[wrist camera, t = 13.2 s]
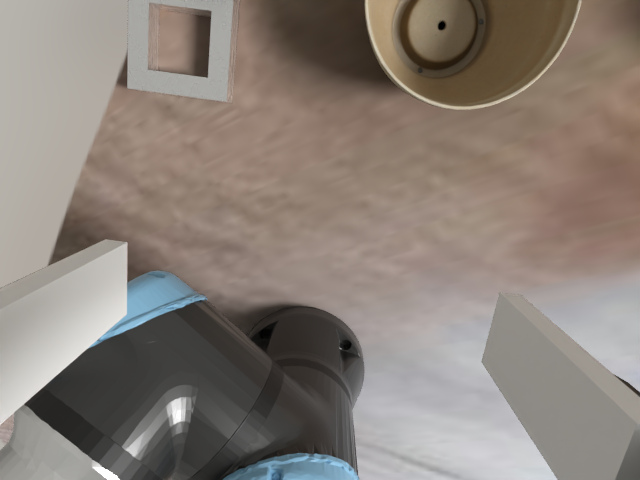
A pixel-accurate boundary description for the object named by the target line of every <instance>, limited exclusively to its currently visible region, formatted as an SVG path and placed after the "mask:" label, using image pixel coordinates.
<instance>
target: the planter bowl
mask: <svg viewBox="0 0 640 480" xmlns="http://www.w3.org/2000/svg"><path fill="white" fill-rule="evenodd" d="M580 5H581V0H364V7H365V20H366V27H367V31H368V35H369V39H370V43H371V46H372V49H373V52H374V54H375V56H376V58H377V61H378V63H379V64H380V66H381V68H382V69H383V71H384V72H385V73H386V75H387V76H388V77H389V78H390V80H391V81H392V82H393V83H394V84H395V85H397V86H398V87H399V88H400V89H401V90H402V91H404V92H405V93H407V94H408V95H410V96H412V97H414V98H416V99H417V100H420V101H422V102H425V103H427V104H430V105H433V106H436V107H440V108H445V109H452V110H469V109H478V108H483V107H487V106H491V105H494V104H497V103H500V102H502V101H505V100H507V99H509V98H511V97H513V96H515V95H516V94H518V93H520V92H521V91H523V90H524V89H526V88H527V87H529V86H530V85H531V84H532V83H534V82H535V81H536V80H537V79H538V78H539V77H540V76H541V75H542V74H543V73H544V72H545V71H546V70H547V69H548V68H549V67H550V65H551V64H552V63H553V62H554V61H555V59H556V58H557V56H558V55H559V54H560V52H561V50H562V49H563V47H564V46H565V44H566V42H567V40H568V38H569V36H570V34H571V32H572V29H573V27H574V24H575V22H576V19H577V16H578V12H579V9H580ZM441 21H443V22H444V23H445V28H444V29H443V30H439V29H438V24H439V23H440V22H441Z"/></svg>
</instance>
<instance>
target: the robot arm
mask: <svg viewBox="0 0 640 480" xmlns="http://www.w3.org/2000/svg"><path fill="white" fill-rule="evenodd" d="M482 363H483V365H484V366H485V368H486V370H487V371H488V373H489V374H490V376H491V377H492V379H493V380H494V382H495V383H496V385H497V387H498V388H499V390H500V391H501V393H502V394H503V396H504V397H505V399H506V400H507V402H508V404H509V405H510V407H511V408H512V410H513V411H514V413H515V414H516V416H517V417H518V419H519V421H520V422H521V424H522V425H523V427H524V428H525V430H526V431H527V433H528V434H529V436H530V438H531V439H532V441H533V442H534V444H535V445H536V447H537V448H538V450H539V451H540V453H541V455H542V456H543V458H544V459H545V461H546V462H547V464H548V465H549V467H550V468H551V470H552V471H553V473H554V475H555V476H556V478H557V479H558V480H640V392H638V391H637V390H636V389H635V388H634V387H633V386H631V385H630V384H629V383H628V382H626V381H624V380H622V379H621V378H619V377H617V376H616V375H614V374H612V373H611V372H610V371H609V370H608V369H606V368H605V367H604V366H603V365H602V364H601V363H599V362H598V361H597V360H596V359H595V358H594V357H593V356H591V355H590V354H589V353H588V352H587V351H586V350H584V349H583V348H582V347H581V346H580V345H579V344H577V343H576V342H575V341H574V340H573V339H572V338H570V337H569V336H568V335H567V334H566V333H565V332H563V331H562V330H561V329H560V328H559V327H558V326H557V325H555V324H554V323H553V322H552V321H551V320H550V319H548V318H547V317H546V316H545V315H544V314H543V313H541V312H540V311H539V310H538V309H537V308H536V307H534V306H533V305H532V304H531V303H530V302H529V301H527V300H526V299H525V298H524V297H523V296H522V295H516V294H508V293H501V292H500V293H499V297H498V301H497V305H496V309H495V312H494V316H493V320H492V324H491V328H490V331H489V335H488V339H487V343H486V347H485V351H484V354H483V358H482ZM363 380H364V362H363V354H362V350H361V347H360V344H359V342H358V340H357V338H356V336H355V335H354V333H353V332H352V331H351V329H350V328H349V327H348V326H347V325H346V324H345V323H344V322H342V321H341V320H340V319H338V318H337V317H335V316H334V315H332V314H330V313H327V312H325V311H322V310H319V309H315V308H309V307H293V308H287V309H283V310H280V311H277V312H274V313H272V314H270V315H268V316H267V317H265V318H264V319H262V320H261V321H260V322H259V323H258V324H257V325H256V326H255V327H254V328H253V329H252V331H251V332H250V333H249V335H248V337H247V336H246V335H245V334H244V333H243V332H242V331H240V330H239V329H238V328H237V327H236V326H235V325H234V324H232V323H231V322H230V321H229V320H228V319H227V318H226V317H224V316H223V315H222V314H221V313H220V312H219V311H218V310H217V309H216V308H215V307H213V306H212V305H211V304H210V303H209V302H208V301H207V298H206V297H205V296H204V295H201V294H198V293H197V292H196V291H195V290H193V289H192V288H191V287H189V286H188V285H187V284H186V283H184V282H183V281H182V280H180V279H179V278H178V277H177V276H175V275H174V274H172V273H170V272H167V271H159V270H158V271H151V272H148V273H145V274H143V275H141V276H138V277H136V278H134V279H133V280H131V281H129V282H127V242H122V241H114V240H107V239H105V240H103V241H101V242H99V243H97V244H95V245H92V246H90V247H88V248H86V249H84V250H82V251H79V252H77V253H75V254H73V255H71V256H69V257H66V258H64V259H62V260H60V261H58V262H56V263H54V264H51V265H49V266H47V267H45V268H43V269H41V270H38V271H36V272H34V273H32V274H30V275H28V276H25V277H23V278H21V279H19V280H17V281H15V282H13V283H10V284H8V285H6V286H4V287H2V288H0V424H2V423H3V422H4V421H5V420H6V419H7V418H8V417H10V416H11V415H12V414H13V413H14V412H15V413H14V427H13V433H12V435H11V438H10V440H9V442H8V443H7V444H6V445H5V446H4V447H3V448H2V449H1V450H0V480H359V477H358V470H357V459H356V447H355V436H354V425H353V414H352V409H353V407H354V405H355V402H356V400H357V398H358V396H359V394H360V391H361V388H362V385H363Z"/></svg>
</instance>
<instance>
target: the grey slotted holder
mask: <svg viewBox="0 0 640 480" xmlns="http://www.w3.org/2000/svg"><path fill="white" fill-rule="evenodd" d="M239 6H240V0H128V76H127V88H128V89H133V90H137V91H144V92H151V93H159V94H166V95H174V96H181V97H188V98H196V99H203V100H210V101H218V102H225V103H233V90H234V76H235V62H236V48H237V34H238V20H239ZM160 10H163V11H170V12H177V13H185V14H192V15H200V16H207V17H211V30H210V48H209V66H208V78H206V77H198V76H191V75H183V74H176V73H169V72H161V71H158V63H159V25H160Z"/></svg>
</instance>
